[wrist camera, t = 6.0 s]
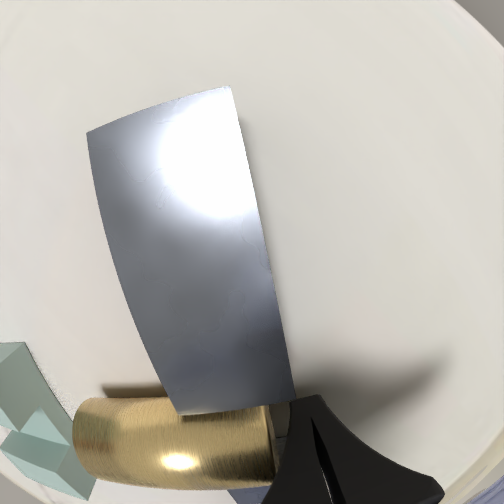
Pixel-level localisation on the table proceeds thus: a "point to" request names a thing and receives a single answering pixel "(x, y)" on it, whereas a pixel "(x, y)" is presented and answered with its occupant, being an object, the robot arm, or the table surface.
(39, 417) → the v block
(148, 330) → the grey rectangular blocks
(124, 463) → the gold rounded piece
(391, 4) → the table surface
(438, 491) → the robot arm
